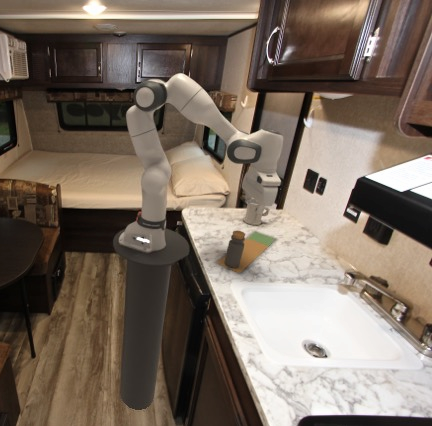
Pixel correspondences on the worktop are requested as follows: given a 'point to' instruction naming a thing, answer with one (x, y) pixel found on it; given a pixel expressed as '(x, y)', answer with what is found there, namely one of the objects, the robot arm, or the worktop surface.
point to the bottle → (235, 249)
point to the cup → (254, 213)
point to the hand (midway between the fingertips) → (252, 207)
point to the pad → (261, 238)
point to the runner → (247, 254)
